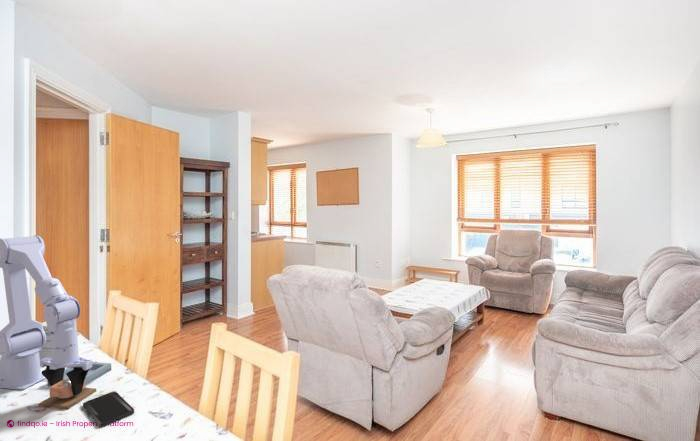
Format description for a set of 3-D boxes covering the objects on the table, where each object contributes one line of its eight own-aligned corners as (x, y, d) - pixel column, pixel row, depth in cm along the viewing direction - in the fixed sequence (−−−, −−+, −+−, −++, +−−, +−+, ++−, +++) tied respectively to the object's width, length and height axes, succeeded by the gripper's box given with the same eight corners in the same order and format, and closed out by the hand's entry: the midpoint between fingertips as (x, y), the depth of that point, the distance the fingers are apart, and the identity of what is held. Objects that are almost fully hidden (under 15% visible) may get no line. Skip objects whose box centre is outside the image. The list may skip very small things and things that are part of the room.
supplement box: (55, 352, 132) (53, 318, 131) (74, 353, 131) (71, 318, 130) (35, 362, 125) (32, 325, 124) (54, 363, 124) (52, 326, 123)
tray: (47, 385, 109) (47, 378, 109) (80, 367, 120) (80, 361, 120) (81, 388, 108) (80, 380, 108) (111, 369, 119) (111, 363, 119)
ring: (46, 398, 99) (45, 389, 99) (68, 385, 105) (67, 377, 105) (64, 399, 98) (63, 390, 98) (85, 387, 104) (84, 378, 104)
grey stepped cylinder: (53, 399, 100) (52, 382, 100) (68, 391, 105) (67, 374, 104) (68, 400, 100) (66, 383, 99) (82, 392, 104) (81, 375, 104)
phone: (114, 390, 105) (135, 410, 95) (115, 394, 105) (135, 414, 95) (81, 403, 99) (99, 425, 89) (81, 407, 99) (100, 429, 89)
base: (38, 406, 98) (38, 403, 98) (68, 389, 107) (68, 386, 107) (67, 409, 97) (67, 406, 97) (96, 391, 106) (96, 388, 106)
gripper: (27, 349, 98) (30, 398, 99) (74, 352, 96) (78, 402, 97) (52, 338, 105) (55, 385, 106) (97, 341, 103) (100, 388, 104)
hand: (68, 392), depth 102 cm, fingers closed on ring, 5 cm apart
